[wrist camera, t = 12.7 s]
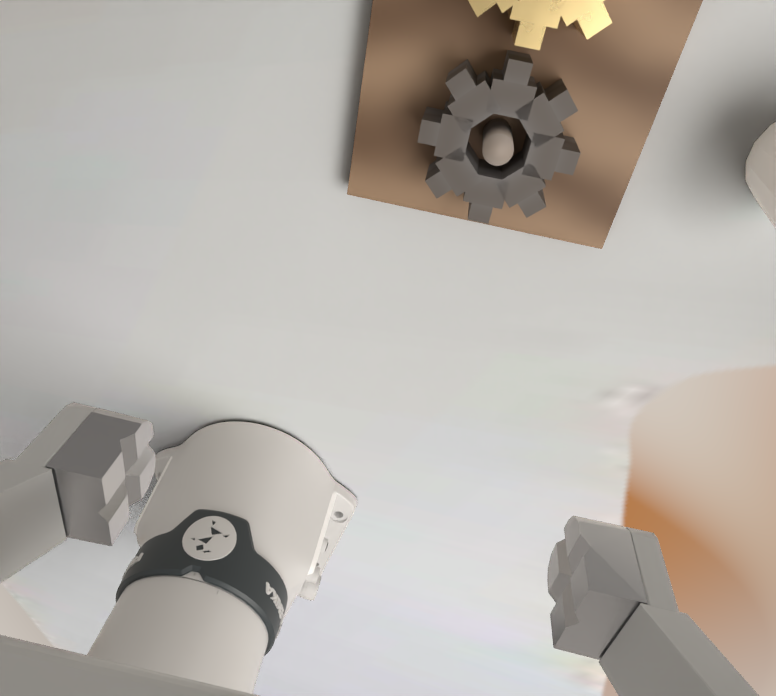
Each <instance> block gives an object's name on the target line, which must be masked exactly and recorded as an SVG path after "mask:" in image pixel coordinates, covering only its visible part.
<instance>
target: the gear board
mask: <svg viewBox="0 0 776 696" xmlns="http://www.w3.org/2000/svg"><path fill="white" fill-rule="evenodd" d="M702 1H703V0H604V1H603V4H604V6H605V8H606V10H607V12H608V14H609V17H610V19H611V21H612V23H611V24H610V25H608V26H607V27H605V28H604V29H602V30H601V31H599V32H598V33H596V34H595V35H593V36H592V37H590V38H589V39H588V40H587V39H586V38H585V37H584V36H583V35H582V34H581V33H580V32H579V31H577V29H576V27H575V25H574V23H571V24H570V25H568V26H566V25H565V24H564V23H563V22H562V21H561V20H560V21H559V24H558V28H557V29H556V28H551V27H547V26H546V30H545V33H544V37H543V40H542V44H541V47H540V50H535V49H530V48H526V47H521V46H516V45H514V42H513V38H512V31H513V27H514V23H515V20H512V19H510V18H509V15H508V9H507V10H506V11H505V12H503V13H502V12H501V10H500V8H499V6H498V4H497V3H496V4H495V5H493V6H492V7H491V8H489V9H488V10H487V11H485V12H484V13H483V14H481V15H480V16H479V17H477V16H476V14H475V12H474V10H473V8H472V7H471V5H470V3H469V1H468V0H373V3H372V10H371V18H370V25H369V33H368V41H367V48H366V56H365V63H364V71H363V78H362V86H361V93H360V101H359V108H358V116H357V123H356V131H355V138H354V146H353V154H352V161H351V169H350V176H349V184H348V191H347V194H348V195H353V196H357V197H362V198H367V199H371V200H376V201H381V202H385V203H390V204H395V205H399V206H404V207H409V208H413V209H418V210H423V211H427V212H432V213H437V214H441V215H446V216H451V217H455V218H460V219H465V220H469V221H474V222H479V223H483V224H488V225H493V226H497V227H502V228H507V229H511V230H516V231H521V232H525V233H530V234H535V235H539V236H544V237H549V238H553V239H558V240H563V241H567V242H572V243H577V244H581V245H586V246H591V247H595V248H600V249H602V247H603V245H604V242H605V240H606V237H607V235H608V232H609V230H610V227H611V225H612V222H613V220H614V217H615V215H616V213H617V210H618V208H619V205H620V203H621V200H622V198H623V195H624V193H625V190H626V188H627V185H628V183H629V181H630V178H631V176H632V173H633V171H634V168H635V166H636V163H637V161H638V158H639V156H640V154H641V151H642V149H643V146H644V144H645V141H646V139H647V136H648V134H649V131H650V129H651V126H652V124H653V122H654V119H655V117H656V114H657V112H658V109H659V107H660V104H661V102H662V99H663V97H664V94H665V92H666V90H667V87H668V85H669V82H670V80H671V77H672V75H673V72H674V70H675V67H676V65H677V62H678V60H679V58H680V55H681V53H682V50H683V48H684V45H685V43H686V40H687V38H688V35H689V33H690V30H691V28H692V26H693V23H694V21H695V18H696V16H697V13H698V11H699V8H700V6H701V3H702Z"/></svg>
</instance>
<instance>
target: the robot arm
mask: <svg viewBox="0 0 776 696" xmlns="http://www.w3.org/2000/svg"><path fill="white" fill-rule="evenodd" d="M153 436H154V433H153V425H152V422H150V421H148V420H144V419H140V418H136V417H132V416H128V415H124V414H120V413H116V412H112V411H109V410H105V409H101V408H95V407H91V406H87V405H83V404H79V403H75V402H73V403H71V404H69V405H67V406H65V407H64V408H63V409H62V410H61V411H60V412H59V413H58V415H57V416H56V417H55V418H54V419H53V420H52V421H51V422H50V423H49V424H48V425H47V426H46V427H45V429H44V430H43V431H42V432H41V433H40V434H39V435H38V436H37V437H36V438H35V439H34V440H33V441H32V443H31V444H30V445H29V446H28V447H27V448H26V449H25V450H24V451H23V452H22V453H21V454H20V455H19V456H18V458H17V459H16V460H10V459H6V460H3V461H1V462H0V583H1V582H3V581H4V580H6V579H7V578H9V577H10V576H12V575H14V574H15V573H17V572H18V571H20V570H21V569H23V568H24V567H26V566H27V565H29V564H30V563H32V562H33V561H35V560H37V559H38V558H40V557H41V556H43V555H44V554H46V553H47V552H49V551H50V550H52V549H53V548H55V547H56V546H58V545H60V544H61V543H63V542H64V541H66V540H67V538H66V537H69V538H74V539H79V540H84V541H89V542H94V543H99V544H104V545H108V546H112V545H113V544H114V542H115V541H116V539H117V537H118V536H119V534H120V533H121V531H122V530H123V528H124V526H125V525H126V523H127V522H128V520H129V519H130V513H129V506H130V505H132V504H134V503H136V502H138V501H140V500H141V499H142V498H143V496H144V495H145V493H146V491H147V490H148V488H149V485H150V483H151V480H152V477H153V475H154V473H155V476H156V479H157V484H156V485H155V487H154V489H153V491H152V493H151V495H150V497H149V499H148V501H147V503H146V505H145V507H144V509H143V511H142V513H141V515H140V517H139V519H138V520H137V523H136V525H135V528H134V533H135V534H136V535H137V541H138V544H139V546H140V549H139V551H138V553H137V554H136V556H135V558H134V559H133V560H132V561H131V563H130V564H129V566H128V567H127V569H126V571H125V573H124V575H123V578H122V582H121V584H120V586H119V588H118V590H117V593H116V605H115V606H114V608H113V610H112V612H111V613H110V615H109V617H108V619H107V620H106V622H105V624H104V626H103V627H102V629H101V631H100V633H99V635H98V636H97V638H96V640H95V642H94V643H93V645H92V647H91V649H90V650H89V652H88V654H87V655H84V654H80V653H75V652H71V651H67V650H63V649H58V648H54V647H50V646H45V645H41V644H37V643H32V642H28V641H24V640H20V639H15V638H11V637H7V636H3V635H0V696H259V695H255V694H253V691H254V688H255V684H256V681H257V677H258V674H259V671H260V667H261V664H262V661H263V657H264V656H265V655H266V654H267V653H268V652H269V651H270V649H271V648H272V646H273V644H274V641H275V639H276V638H277V636H278V634H279V632H280V629H281V626H282V623H283V619H284V617H285V616H286V614H287V613H288V611H289V609H290V607H291V606H292V604H293V602H294V600H295V599H296V597H297V596H300V597H302V598H304V599H307V600H310V601H312V600H314V599H315V596H316V594H317V591H318V588H319V585H320V581H321V574H322V572H323V570H324V568H325V566H326V564H327V563H328V561H329V559H330V557H331V555H332V553H333V551H334V550H335V548H336V546H337V544H338V542H339V540H340V538H341V536H342V535H343V533H344V531H345V529H346V527H347V525H348V523H349V521H350V520H351V518H352V516H353V514H354V512H355V509H356V507H357V503H358V502H357V499H356V497H355V496H354V495H353V494H352V493H351V492H350V491H348V490H347V489H346V488H345V487H343V486H342V485H340V484H339V483H338V482H336V481H335V480H334V479H333V477H332V476H331V475H330V473H329V472H328V470H327V469H326V467H325V466H324V464H323V463H322V461H321V460H320V459H319V458H318V457H317V456H316V455H315V454H314V453H313V452H312V451H311V450H310V449H309V448H308V447H307V446H305V445H304V444H303V443H301V442H300V441H298V440H297V439H295V438H293V437H291V436H290V435H288V434H286V433H284V432H281V431H279V430H277V429H274V428H271V427H268V426H264V425H260V424H256V423H250V422H237V421H233V422H222V423H216V424H212V425H209V426H206V427H204V428H202V429H200V430H198V431H197V432H195V433H194V434H193V435H191V436H190V437H189V438H188V439H187V440H186V441H185V442H184V443H182V444H181V445H179V446H176V447H172V448H168V449H165V450H162V451H160V452H158V453H157V454H156V456H155V452H154V450H153V449H152V448H151V447H150V445H149V442H150V441H151V439H152V438H153ZM564 532H565V539H564V540H562V541H560V542H558V543H556V545H555V547H554V549H553V551H552V554H551V557H550V561H549V566H548V579H547V581H548V592H549V594H550V595H551V597H552V598H553V599H554V601H555V602H556V605H555V607H554V608H553V610H552V612H551V614H550V616H551V626H552V636H553V647H554V648H556V649H560V650H564V651H567V652H571V653H575V654H579V655H583V656H587V657H591V658H594V659H598V660H600V661H599V663H600V665H601V667H602V668H603V670H604V672H605V674H606V675H607V677H608V679H609V680H610V682H611V684H612V685H613V687H614V688H615V690H616V692H617V694H618V695H619V696H759V695H758V694H757V693H756V691H755V690H754V689H753V688H752V687H751V686H750V685H749V684H748V682H747V681H746V680H745V679H744V678H743V677H742V676H741V674H739V672H738V671H737V670H736V669H735V668H734V667H733V665H732V664H731V663H730V662H729V661H728V660H727V659H726V657H725V656H724V655H723V654H722V653H721V652H720V651H719V650H718V649H717V647H716V646H715V645H714V644H713V643H712V642H711V641H710V640H709V638H708V637H707V636H706V635H705V634H704V633H703V631H702V630H701V629H700V628H699V627H698V626H697V625H696V624H695V622H694V621H693V620H692V619H691V618H690V617H689V615H687V614H685V613H681V612H679V610H678V607H677V604H676V600H675V596H674V593H673V590H672V586H671V583H670V579H669V576H668V573H667V569H666V566H665V562H664V559H663V556H662V552H661V549H660V545H659V542H658V538H657V537H656V536H655V534H654V533H651V532H646V531H642V530H637V529H632V528H628V527H623V526H619V525H615V524H610V523H605V522H601V521H596V520H591V519H587V518H582V517H577V516H572V517H571V518H570V519H569V520H568V522H567V524H566V526H565V527H564Z"/></svg>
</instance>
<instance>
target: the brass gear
mask: <svg viewBox="0 0 776 696" xmlns="http://www.w3.org/2000/svg"><path fill="white" fill-rule="evenodd" d="M468 1H469V3H470V5H471V7H472V8H473V10H474V12H475V14H476V16H477V17H479V16H480V15H481V14H483V13H484V12H485V11H487V10H488V9H489V8H491V7H492V6H493V5H495V4H496V3H497V4H498V6H499V8H500V10H501V12H502V13H503V12H505V11H506V10H507V9H508V15H509V18H510V19H512V20H515V23H514V27H513V31H512V38H513V42H514V45H516V46H521V47H526V48H530V49H535V50H540V47H541V44H542V40H543V37H544V33H545V30H546V26H547V27H551V28H556V29H557V28H558V24H559V21H560V20H561V21H562V22H563V23H564V24H565V25H566V26H568V25H570V24H571V23H574V25H575V27H576V29H577V31H579V32H580V33H581V34H582V35H583V36H584V37H585V38H586V39H587V40H588V39H589V38H590V37H592V36H593V35H595V34H596V33H598V32H599V31H601V30H602V29H604V28H605V27H607V26H608V25H610V24H611V23H612V21H611V19H610V17H609V14H608V12H607V10H606V8H605V6H604V4H603V1H604V0H468Z"/></svg>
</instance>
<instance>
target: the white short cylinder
mask: <svg viewBox="0 0 776 696" xmlns="http://www.w3.org/2000/svg"><path fill="white" fill-rule="evenodd" d="M745 181H746V183H747V184H748V186H749V188H750V190H751V192H752V194H753V196H754V197H755V199H756V200H757V202H758V203H759V205H760V206H761V208H762V209H763V211H764V212H765V214H766V215H767V217H768V218H769V220H770V221H771V223H772V224H773V226H774V227H775V228H776V122H775V123H773V124H771V125H770V126H769V127H768V128H767V129H766V130H765V131H764V133H763V134H762V135H761V136H760V137H759V138H758V139H757V140H756V141H755V142H754V144H753V147H752V149H751V151H750V153H749V156H748V158H747V160H746V173H745Z"/></svg>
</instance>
